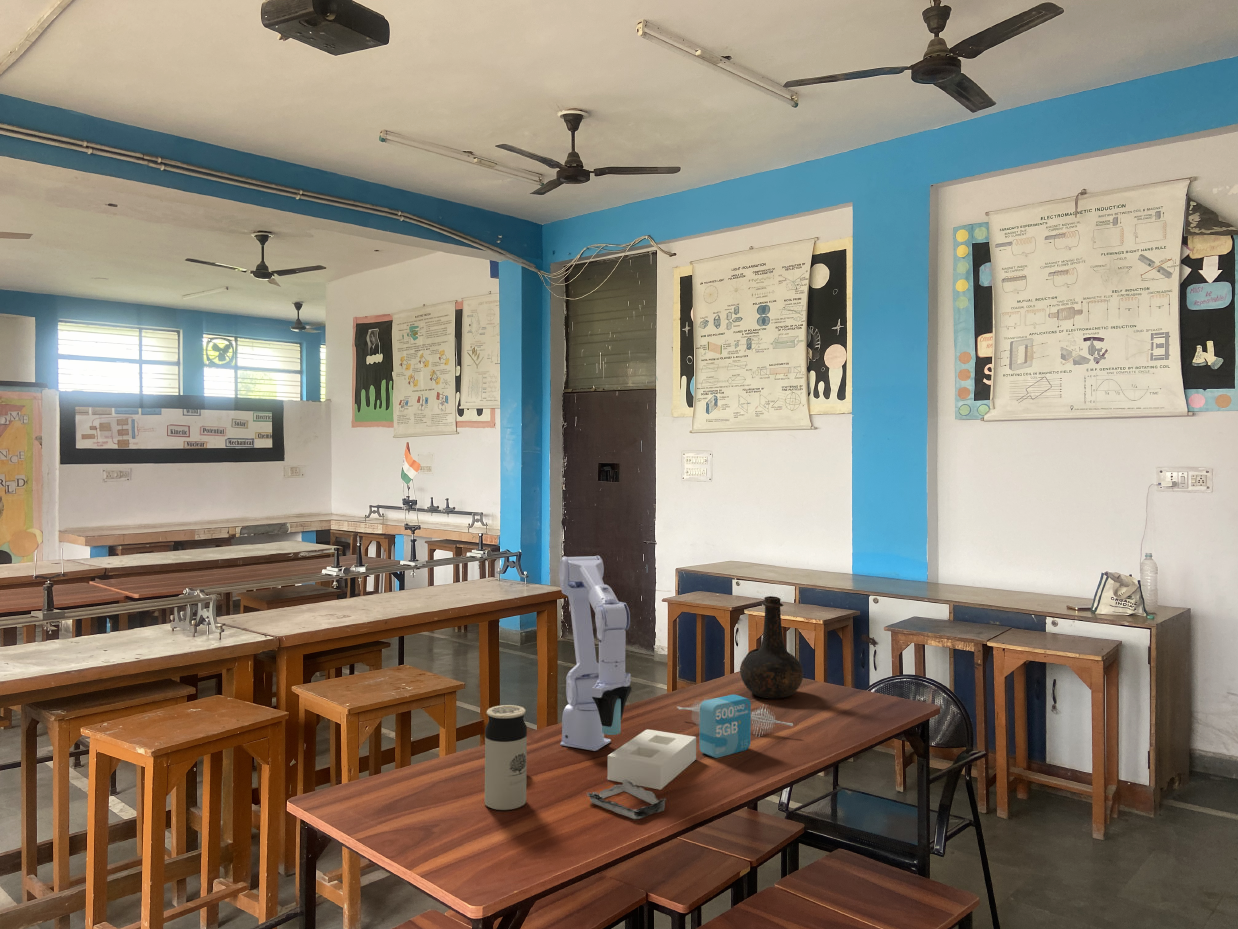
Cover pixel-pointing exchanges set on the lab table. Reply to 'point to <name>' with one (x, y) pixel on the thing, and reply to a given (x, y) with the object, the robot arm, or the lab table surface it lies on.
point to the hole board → (652, 758)
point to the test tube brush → (751, 717)
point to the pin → (614, 721)
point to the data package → (725, 725)
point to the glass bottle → (771, 659)
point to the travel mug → (505, 757)
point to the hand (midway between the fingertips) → (611, 723)
